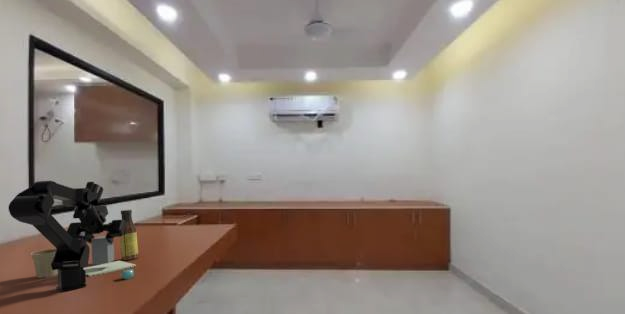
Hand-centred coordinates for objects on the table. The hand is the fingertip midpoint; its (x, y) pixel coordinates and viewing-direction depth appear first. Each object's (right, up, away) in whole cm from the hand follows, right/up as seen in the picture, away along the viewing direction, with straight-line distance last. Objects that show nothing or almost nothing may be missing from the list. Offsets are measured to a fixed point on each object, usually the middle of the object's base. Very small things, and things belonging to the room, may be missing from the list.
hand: (104, 243), depth 150 cm
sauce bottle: (+2, -10, +16) cm, 19 cm away
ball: (+16, -8, -16) cm, 24 cm away
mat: (+1, -9, 0) cm, 9 cm away
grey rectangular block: (+1, -7, -2) cm, 7 cm away
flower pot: (-17, -10, -6) cm, 21 cm away
